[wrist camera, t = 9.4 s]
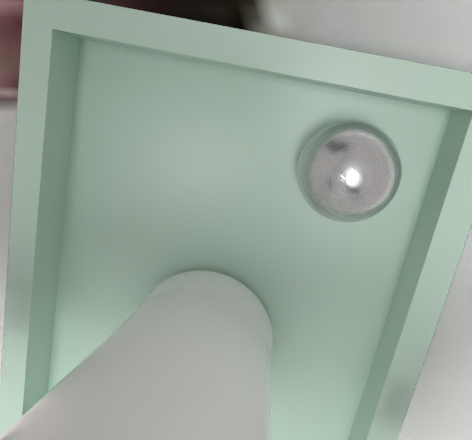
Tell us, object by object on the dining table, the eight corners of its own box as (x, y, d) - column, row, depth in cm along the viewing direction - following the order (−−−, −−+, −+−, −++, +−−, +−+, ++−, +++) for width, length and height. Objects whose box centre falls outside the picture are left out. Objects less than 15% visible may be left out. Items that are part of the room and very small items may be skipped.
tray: (65, 7, 16) (24, -12, 14) (485, 87, 15) (521, 82, 12) (30, 418, 21) (-5, 458, 18) (348, 503, 20) (355, 559, 17)
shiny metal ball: (308, 110, 15) (311, 110, 12) (401, 129, 15) (428, 134, 12) (287, 199, 16) (286, 221, 13) (375, 219, 16) (395, 244, 13)
